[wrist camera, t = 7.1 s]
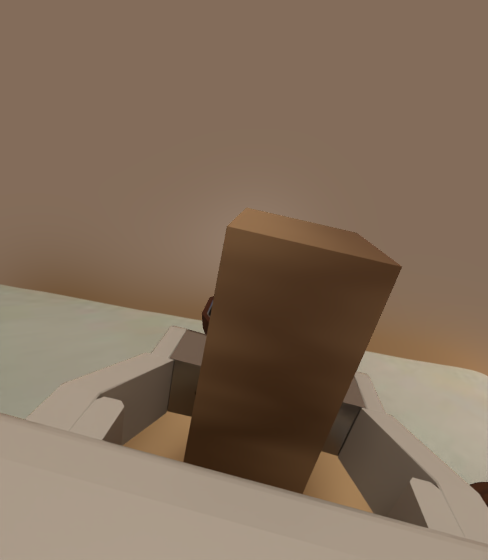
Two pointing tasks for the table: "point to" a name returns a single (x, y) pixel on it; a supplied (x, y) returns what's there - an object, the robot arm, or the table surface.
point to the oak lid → (280, 355)
